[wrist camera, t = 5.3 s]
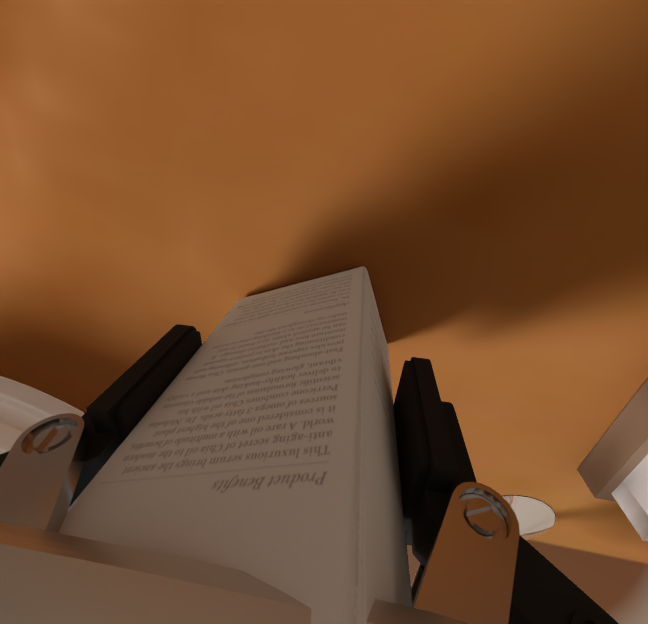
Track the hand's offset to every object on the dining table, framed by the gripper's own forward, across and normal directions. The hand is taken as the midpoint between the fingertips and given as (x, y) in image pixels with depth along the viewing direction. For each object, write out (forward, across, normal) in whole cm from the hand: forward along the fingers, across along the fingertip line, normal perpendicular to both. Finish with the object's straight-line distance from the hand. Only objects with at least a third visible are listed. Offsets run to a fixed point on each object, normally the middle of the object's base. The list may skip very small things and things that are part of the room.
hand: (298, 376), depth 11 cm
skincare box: (+4, 0, 0) cm, 4 cm away
